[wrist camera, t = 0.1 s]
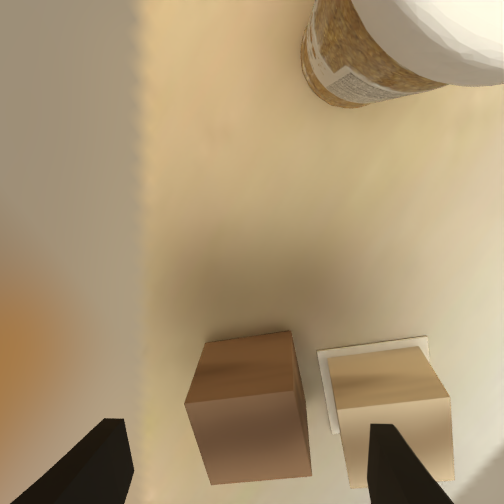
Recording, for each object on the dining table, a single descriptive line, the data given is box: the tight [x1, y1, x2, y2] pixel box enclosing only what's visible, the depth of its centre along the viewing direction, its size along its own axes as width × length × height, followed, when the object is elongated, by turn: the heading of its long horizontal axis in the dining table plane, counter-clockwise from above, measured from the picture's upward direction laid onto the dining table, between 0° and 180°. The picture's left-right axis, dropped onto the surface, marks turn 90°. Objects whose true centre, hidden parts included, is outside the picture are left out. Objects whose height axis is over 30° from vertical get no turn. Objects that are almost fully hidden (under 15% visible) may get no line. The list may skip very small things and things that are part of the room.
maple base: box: [327, 346, 455, 489], centre depth 19 cm, size 5×5×4 cm
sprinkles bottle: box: [301, 0, 504, 108], centre depth 10 cm, size 5×5×14 cm
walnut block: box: [184, 331, 312, 485], centre depth 19 cm, size 5×5×5 cm
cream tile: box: [317, 336, 430, 435], centre depth 21 cm, size 6×6×1 cm
